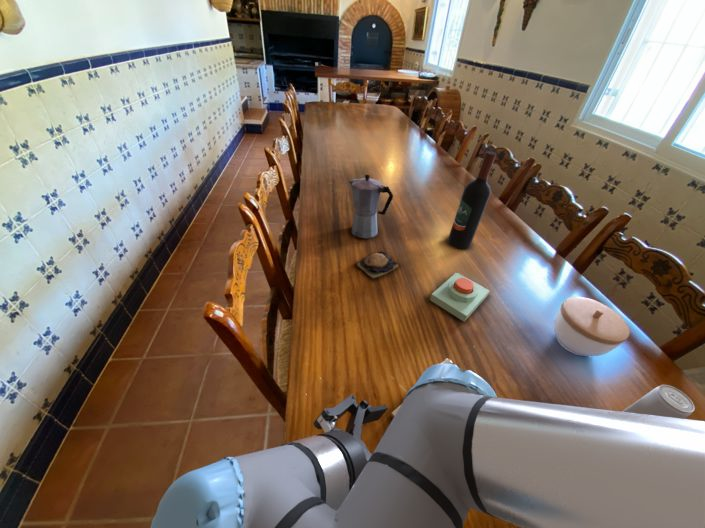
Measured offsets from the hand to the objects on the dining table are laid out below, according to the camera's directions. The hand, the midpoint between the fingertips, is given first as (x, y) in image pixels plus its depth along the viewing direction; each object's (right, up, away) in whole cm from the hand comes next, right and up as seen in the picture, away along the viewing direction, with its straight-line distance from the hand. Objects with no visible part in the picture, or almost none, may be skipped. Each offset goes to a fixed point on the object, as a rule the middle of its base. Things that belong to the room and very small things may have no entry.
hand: (402, 438), depth 48 cm
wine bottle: (+28, +36, +51) cm, 68 cm away
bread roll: (-1, +28, +39) cm, 48 cm away
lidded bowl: (+44, +10, +22) cm, 50 cm away
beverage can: (+43, -2, +7) cm, 43 cm away
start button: (+20, +22, +28) cm, 41 cm away
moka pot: (-4, +39, +52) cm, 66 cm away
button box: (+20, +19, +30) cm, 41 cm away
